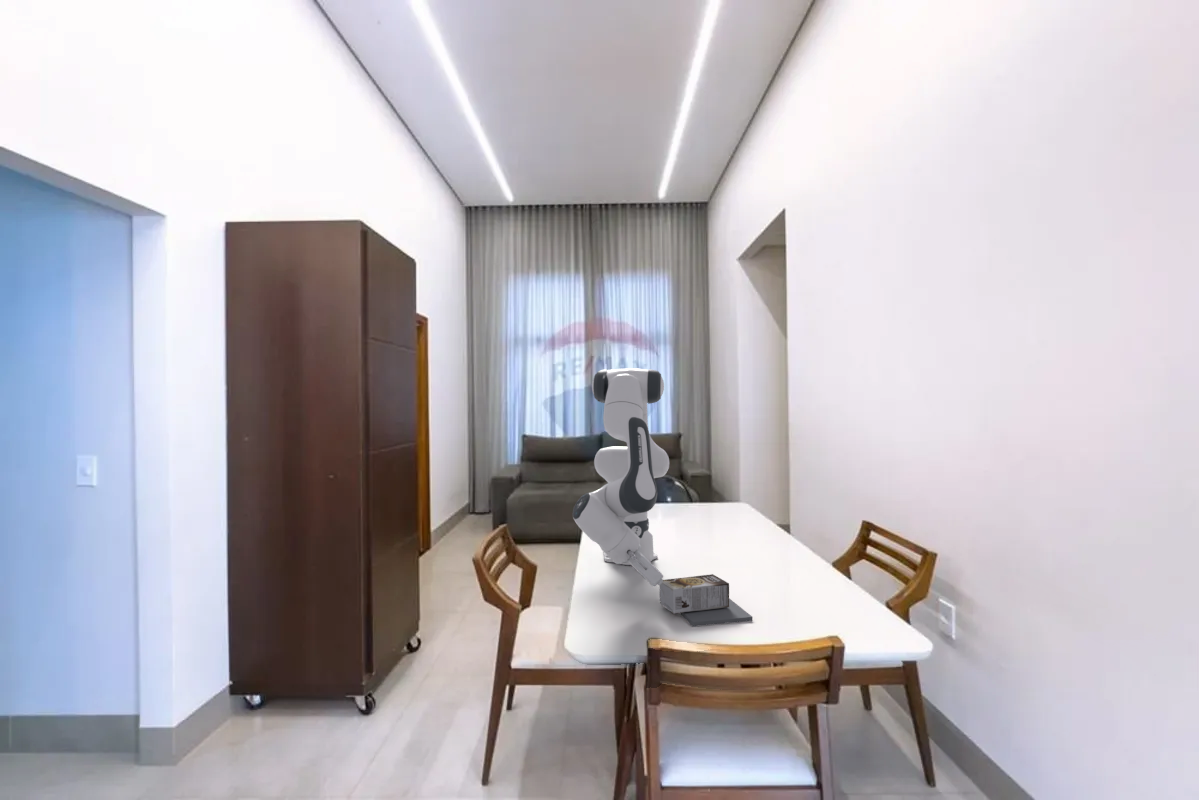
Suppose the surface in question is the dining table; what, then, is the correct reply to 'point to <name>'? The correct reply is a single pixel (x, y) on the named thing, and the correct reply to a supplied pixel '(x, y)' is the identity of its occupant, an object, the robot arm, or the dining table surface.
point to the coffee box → (694, 593)
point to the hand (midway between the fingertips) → (659, 581)
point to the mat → (717, 615)
